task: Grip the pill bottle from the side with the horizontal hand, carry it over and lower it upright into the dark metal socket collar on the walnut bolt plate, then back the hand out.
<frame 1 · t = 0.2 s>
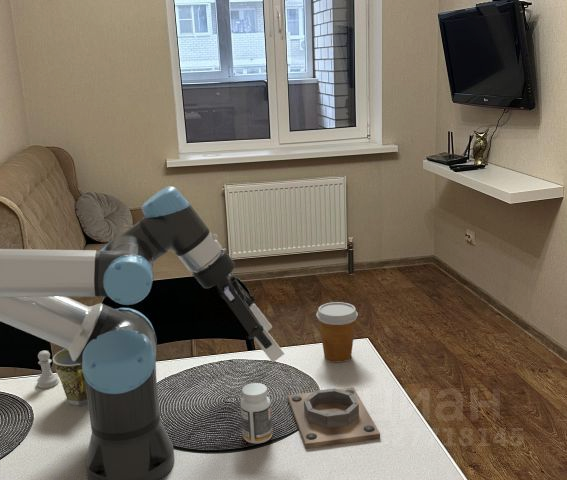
hand: (272, 343, 128), 14 cm above the table, tool tilted 30°, fingers open, 13 cm apart
pill bottle: (257, 437, 122), on the table
disposable coffee cup: (337, 357, 153), on the table
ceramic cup: (84, 401, 138), on the table
socket plate: (331, 417, 127), on the table
chess piece: (48, 384, 146), on the table
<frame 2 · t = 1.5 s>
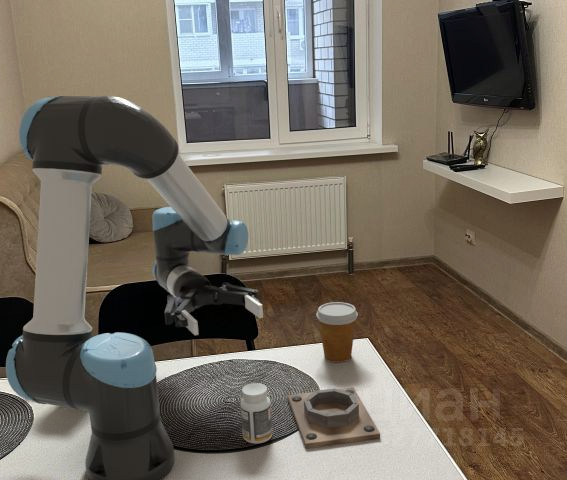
hand: (229, 319, 124), 20 cm above the table, tool horizontal, fingers open, 13 cm apart
nothing on the table moved.
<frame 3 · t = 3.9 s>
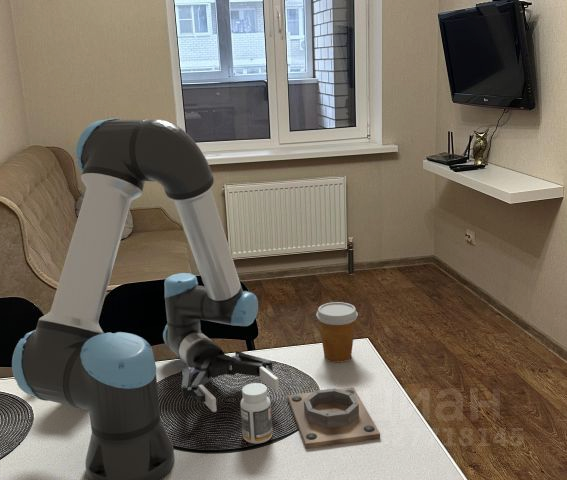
hand: (246, 395, 126), 6 cm above the table, tool horizontal, fingers open, 13 cm apart
nothing on the table moved.
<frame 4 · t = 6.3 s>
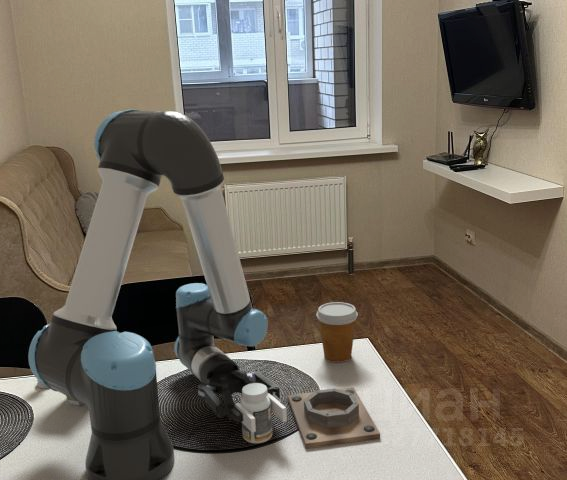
hand: (269, 420, 116), 6 cm above the table, tool horizontal, fingers closed on pill bottle, 6 cm apart
pill bottle: (257, 437, 122), on the table, touching gripper
everything else where it was.
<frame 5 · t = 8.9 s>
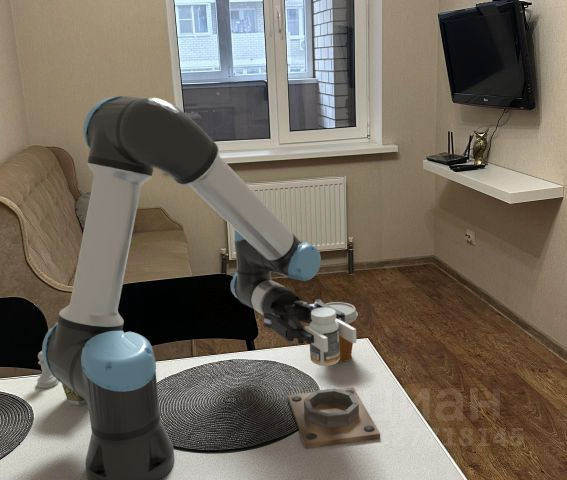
hand: (340, 340, 118), 18 cm above the table, tool horizontal, fingers closed on pill bottle, 6 cm apart
pill bottle: (325, 361, 124), point 12 cm above the table, touching gripper
everything else where it was.
when the fingers open (8 cm above the table, at t = 11.6 s): pill bottle drops 1 cm, resting on socket plate.
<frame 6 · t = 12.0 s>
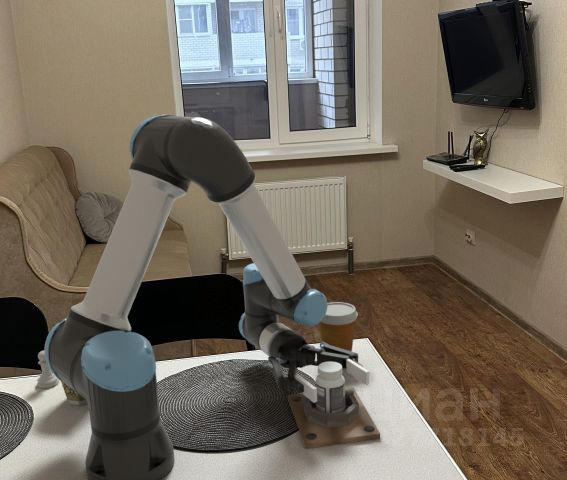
hand: (342, 386, 122), 8 cm above the table, tool horizontal, fingers open, 11 cm apart
pill bottle: (330, 414, 127), point 1 cm above the table, touching socket plate
everything else where it was.
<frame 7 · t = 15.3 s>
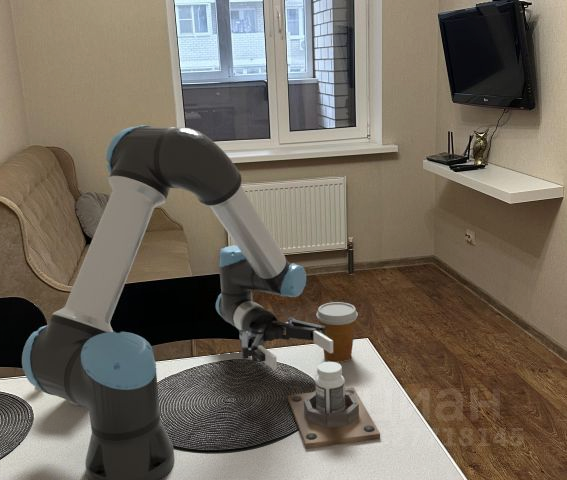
hand: (304, 355, 133), 10 cm above the table, tool horizontal, fingers open, 13 cm apart
nothing on the table moved.
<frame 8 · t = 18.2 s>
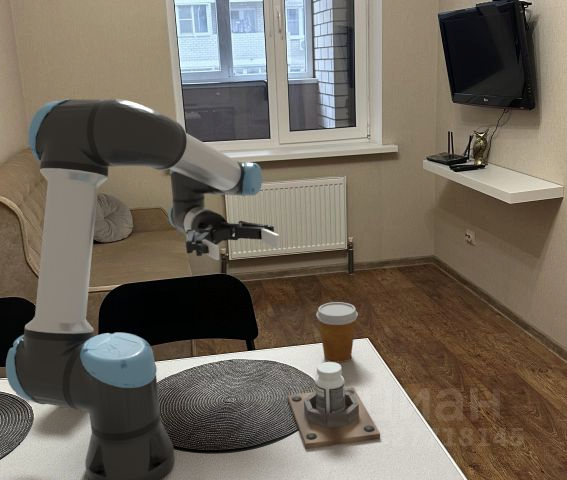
hand: (248, 247, 130), 32 cm above the table, tool horizontal, fingers open, 13 cm apart
nothing on the table moved.
at the end: pill bottle 0.1 cm off-centre on the socket plate, point 0.8 cm above the socket plate's base; pill bottle tilted 0°; the gripper is holding nothing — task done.
